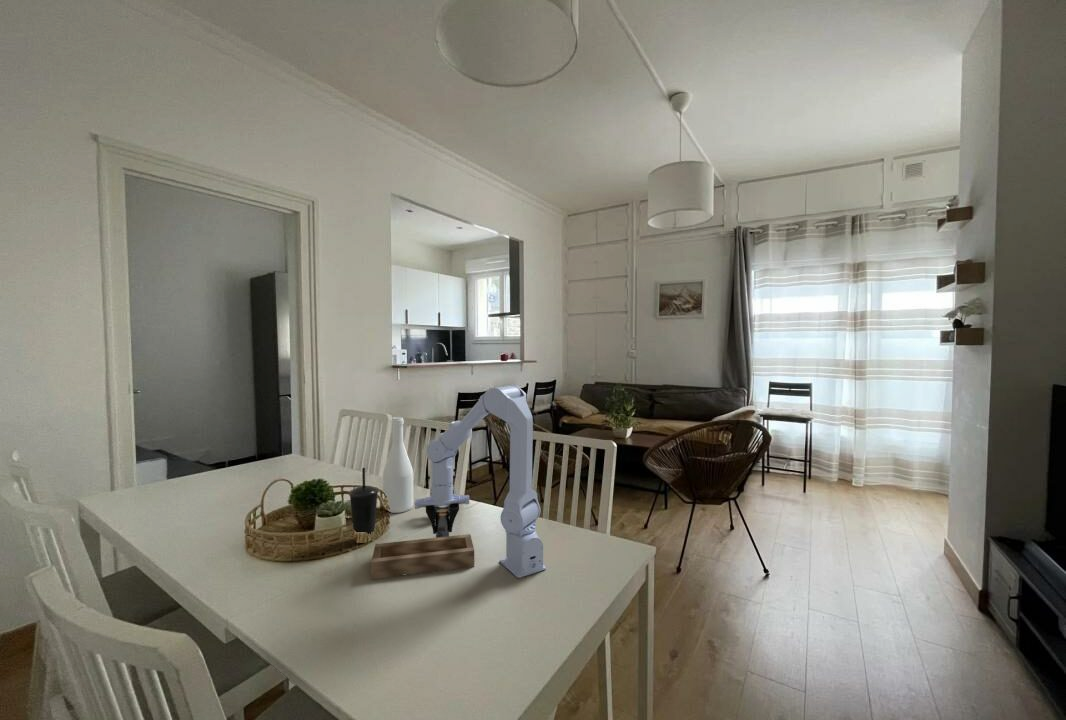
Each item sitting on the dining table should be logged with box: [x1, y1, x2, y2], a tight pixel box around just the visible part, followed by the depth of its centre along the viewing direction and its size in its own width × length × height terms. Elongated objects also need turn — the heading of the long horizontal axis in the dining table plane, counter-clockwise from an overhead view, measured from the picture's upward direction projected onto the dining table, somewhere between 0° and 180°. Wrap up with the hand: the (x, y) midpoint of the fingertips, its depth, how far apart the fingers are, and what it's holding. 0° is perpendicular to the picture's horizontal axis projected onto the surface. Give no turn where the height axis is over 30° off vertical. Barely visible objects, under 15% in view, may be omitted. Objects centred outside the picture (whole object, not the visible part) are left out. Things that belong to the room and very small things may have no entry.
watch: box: [429, 485, 457, 521], centre depth 134 cm, size 6×8×11 cm
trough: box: [370, 533, 475, 580], centre depth 105 cm, size 24×9×4 cm, turn 104°
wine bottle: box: [382, 416, 414, 514], centre depth 140 cm, size 10×10×30 cm
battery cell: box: [435, 509, 450, 538], centre depth 117 cm, size 4×4×8 cm
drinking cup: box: [348, 467, 380, 534], centre depth 117 cm, size 8×8×20 cm
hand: (442, 531), depth 117 cm, fingers closed on battery cell, 4 cm apart
